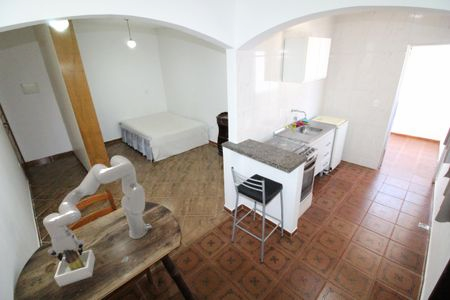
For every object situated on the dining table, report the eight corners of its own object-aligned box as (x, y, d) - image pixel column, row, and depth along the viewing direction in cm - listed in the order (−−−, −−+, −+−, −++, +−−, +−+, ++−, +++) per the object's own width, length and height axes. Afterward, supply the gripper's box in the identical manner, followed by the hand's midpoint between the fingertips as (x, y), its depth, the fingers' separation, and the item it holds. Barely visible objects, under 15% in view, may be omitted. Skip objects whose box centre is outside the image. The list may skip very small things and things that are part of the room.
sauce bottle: (76, 265, 130) (64, 242, 121) (86, 264, 131) (76, 241, 122) (70, 276, 124) (57, 252, 116) (81, 275, 125) (69, 251, 116)
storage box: (95, 258, 136) (91, 249, 132) (91, 276, 125) (87, 267, 121) (65, 266, 131) (60, 257, 127) (59, 287, 120) (54, 277, 116)
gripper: (80, 224, 120) (89, 245, 128) (43, 234, 115) (55, 255, 123) (77, 234, 114) (87, 256, 122) (38, 245, 109) (51, 267, 116)
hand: (71, 255), depth 122 cm, fingers open, 9 cm apart
